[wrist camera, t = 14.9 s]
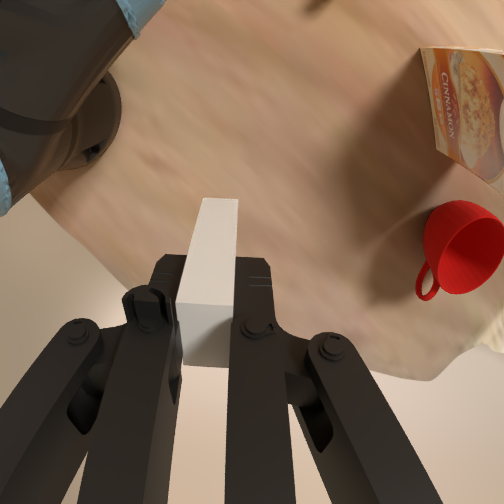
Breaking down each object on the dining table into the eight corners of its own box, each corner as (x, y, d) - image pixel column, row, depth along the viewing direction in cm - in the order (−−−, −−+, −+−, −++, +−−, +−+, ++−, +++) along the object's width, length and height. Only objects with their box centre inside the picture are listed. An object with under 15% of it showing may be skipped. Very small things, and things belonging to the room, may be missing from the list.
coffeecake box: (417, 46, 30) (525, 56, 14) (458, 45, 29) (565, 61, 13) (434, 151, 38) (524, 216, 22) (471, 143, 37) (562, 202, 20)
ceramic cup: (376, 252, 47) (399, 294, 39) (444, 168, 39) (483, 197, 31) (423, 283, 51) (446, 322, 43) (483, 213, 43) (517, 244, 35)
